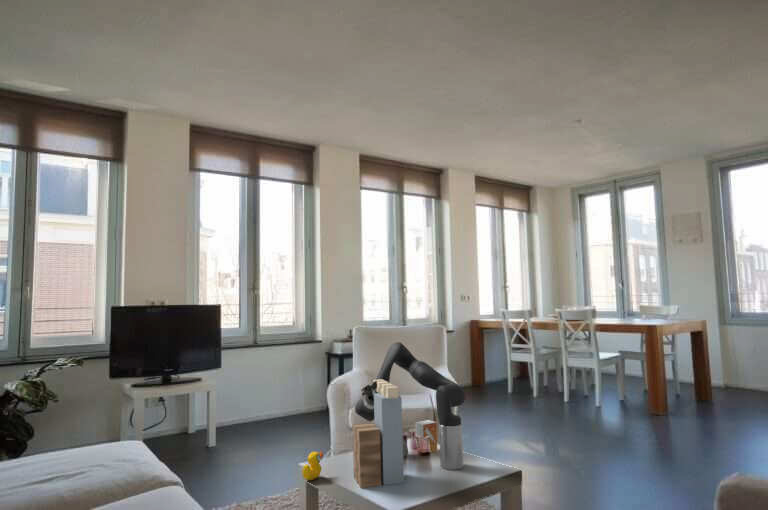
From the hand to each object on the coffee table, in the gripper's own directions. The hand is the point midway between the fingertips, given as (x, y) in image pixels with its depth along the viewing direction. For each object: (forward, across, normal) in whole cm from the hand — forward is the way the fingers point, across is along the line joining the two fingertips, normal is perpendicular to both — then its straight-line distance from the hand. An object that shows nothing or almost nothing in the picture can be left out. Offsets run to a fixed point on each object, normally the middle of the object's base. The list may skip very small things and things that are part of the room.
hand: (381, 382), depth 207 cm
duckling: (-19, -28, +30) cm, 46 cm away
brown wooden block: (-10, -9, +35) cm, 38 cm away
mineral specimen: (-34, +12, +22) cm, 42 cm away
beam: (+3, 0, +6) cm, 7 cm away
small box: (-36, +26, +21) cm, 49 cm away
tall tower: (-10, 0, +35) cm, 37 cm away
